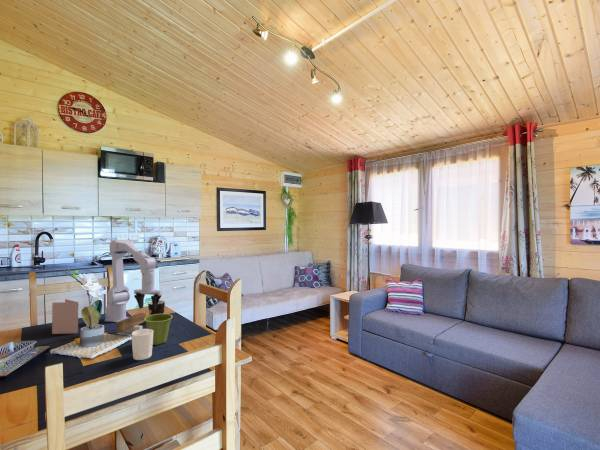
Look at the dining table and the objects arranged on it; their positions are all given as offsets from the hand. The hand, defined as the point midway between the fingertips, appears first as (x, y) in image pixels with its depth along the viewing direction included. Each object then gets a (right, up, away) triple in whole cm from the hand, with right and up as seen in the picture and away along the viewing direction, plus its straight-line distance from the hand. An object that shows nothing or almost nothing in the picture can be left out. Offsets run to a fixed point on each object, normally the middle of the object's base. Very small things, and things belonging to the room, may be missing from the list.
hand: (147, 308), depth 161 cm
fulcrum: (-6, -10, -4) cm, 13 cm away
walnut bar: (-6, -7, -4) cm, 10 cm away
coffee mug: (-2, -11, +13) cm, 17 cm away
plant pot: (+12, -11, -16) cm, 23 cm away
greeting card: (-37, -10, -7) cm, 39 cm away
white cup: (+13, -11, -32) cm, 36 cm away
